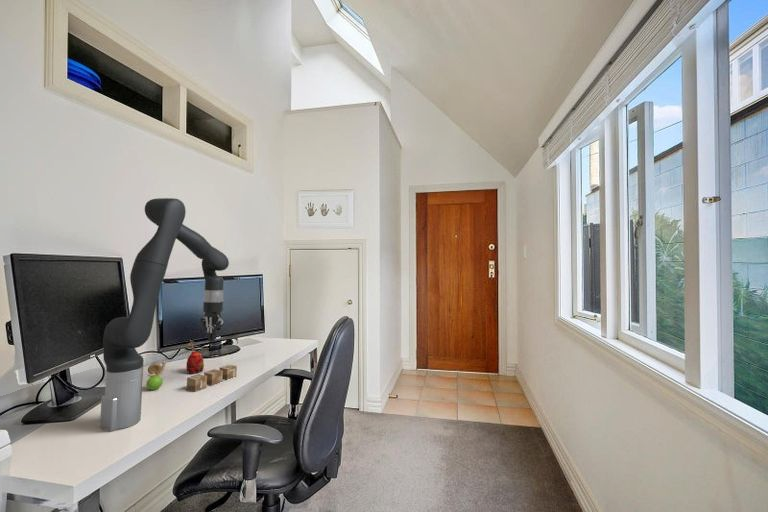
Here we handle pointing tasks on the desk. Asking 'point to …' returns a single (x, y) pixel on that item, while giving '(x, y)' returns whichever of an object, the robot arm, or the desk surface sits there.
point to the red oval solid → (194, 362)
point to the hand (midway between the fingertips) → (211, 341)
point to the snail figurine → (155, 375)
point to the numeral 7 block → (229, 371)
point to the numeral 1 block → (196, 382)
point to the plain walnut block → (214, 376)
